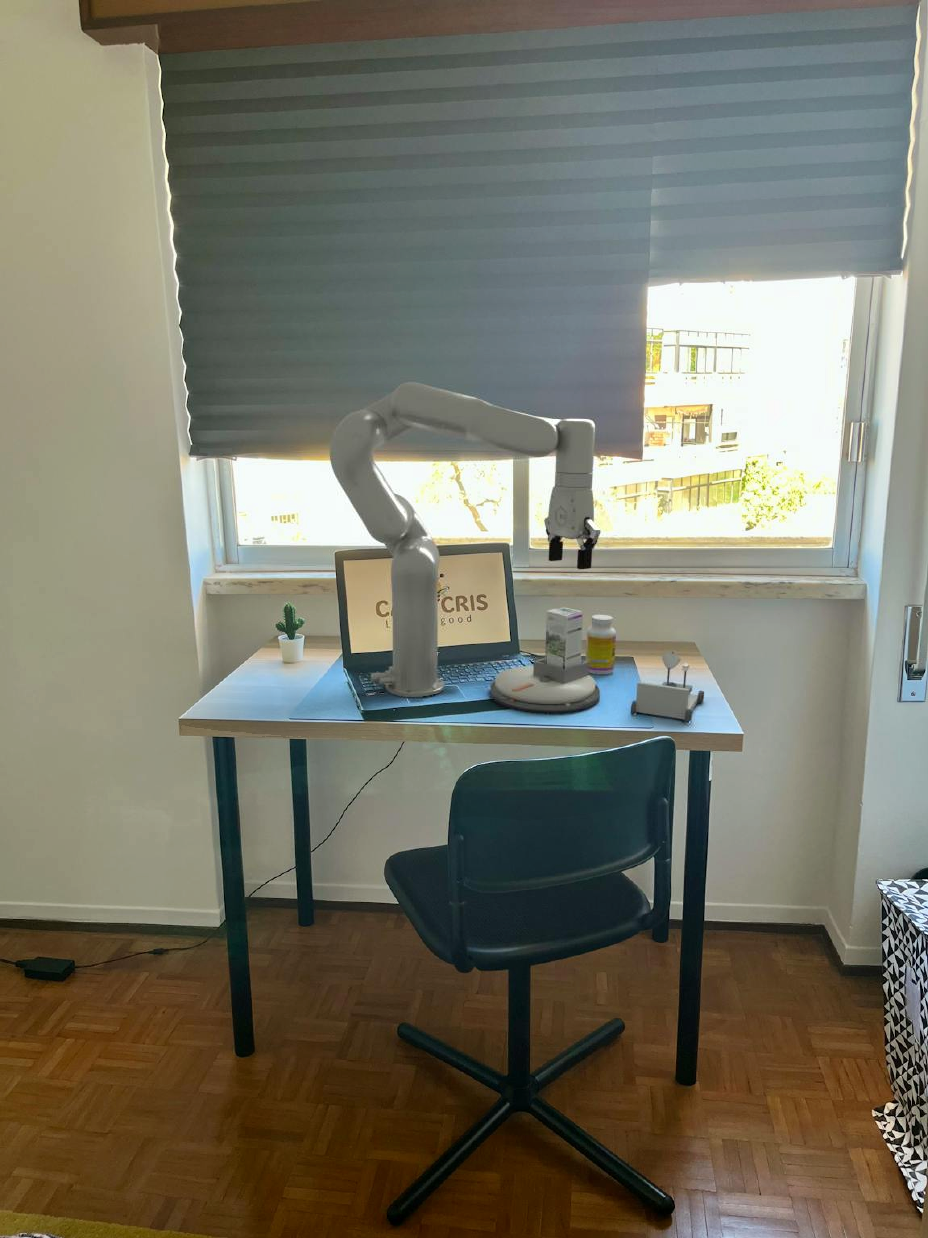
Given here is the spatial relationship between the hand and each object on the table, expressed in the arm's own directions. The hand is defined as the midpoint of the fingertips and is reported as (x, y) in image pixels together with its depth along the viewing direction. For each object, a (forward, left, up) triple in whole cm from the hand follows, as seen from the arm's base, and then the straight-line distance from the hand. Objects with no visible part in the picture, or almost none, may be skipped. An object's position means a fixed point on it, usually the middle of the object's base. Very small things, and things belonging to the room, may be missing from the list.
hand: (569, 564), depth 187 cm
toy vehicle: (+17, -15, -28) cm, 36 cm away
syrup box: (0, 0, -25) cm, 25 cm away
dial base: (-5, -1, -28) cm, 28 cm away
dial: (-5, -1, -26) cm, 26 cm away
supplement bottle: (+14, +11, -28) cm, 33 cm away
